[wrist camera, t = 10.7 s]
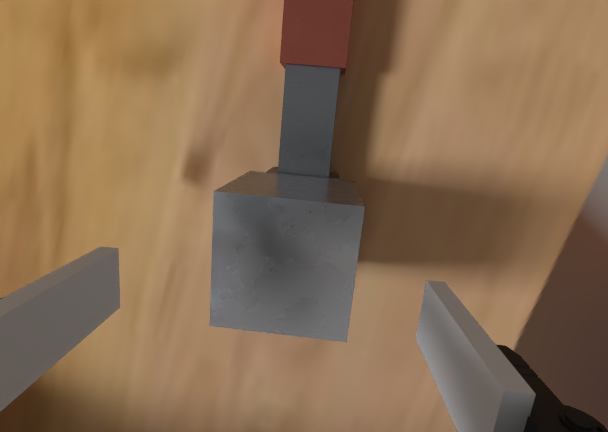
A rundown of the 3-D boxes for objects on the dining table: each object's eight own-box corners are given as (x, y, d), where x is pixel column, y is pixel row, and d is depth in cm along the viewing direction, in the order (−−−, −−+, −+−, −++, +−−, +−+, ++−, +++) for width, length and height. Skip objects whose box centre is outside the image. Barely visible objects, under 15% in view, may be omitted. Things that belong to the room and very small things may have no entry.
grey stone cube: (245, 267, 26) (209, 325, 19) (250, 170, 25) (213, 190, 17) (341, 277, 26) (346, 342, 18) (353, 181, 24) (364, 206, 17)
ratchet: (266, 254, 29) (247, 292, 22) (291, -98, 23) (275, -189, 17) (328, 261, 29) (328, 302, 22) (369, -92, 23) (385, -183, 16)
